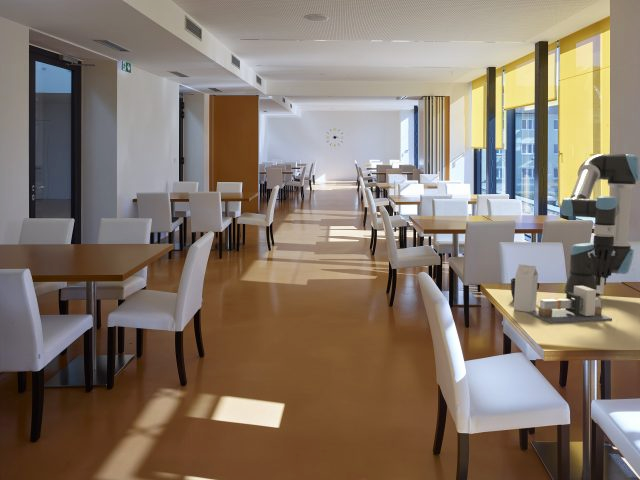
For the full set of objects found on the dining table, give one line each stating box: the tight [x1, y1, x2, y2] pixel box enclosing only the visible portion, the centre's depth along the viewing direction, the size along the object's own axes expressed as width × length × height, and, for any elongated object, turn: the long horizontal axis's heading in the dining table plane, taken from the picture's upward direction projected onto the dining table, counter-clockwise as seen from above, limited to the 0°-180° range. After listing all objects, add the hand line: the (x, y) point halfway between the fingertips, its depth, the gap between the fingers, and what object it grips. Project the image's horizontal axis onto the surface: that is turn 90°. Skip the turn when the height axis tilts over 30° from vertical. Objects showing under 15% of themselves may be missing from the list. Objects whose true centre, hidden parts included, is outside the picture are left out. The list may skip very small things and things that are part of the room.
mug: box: [510, 277, 540, 302], centre depth 302 cm, size 8×12×10 cm
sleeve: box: [573, 286, 597, 316], centre depth 276 cm, size 4×9×10 cm, turn 13°
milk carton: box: [513, 263, 539, 313], centre depth 285 cm, size 7×7×19 cm
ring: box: [564, 292, 580, 314], centre depth 275 cm, size 2×7×7 cm, turn 13°
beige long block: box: [538, 296, 603, 318], centre depth 275 cm, size 25×5×7 cm, turn 103°
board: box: [528, 309, 613, 324], centre depth 275 cm, size 27×16×1 cm, turn 103°
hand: (599, 293), depth 277 cm, fingers closed
